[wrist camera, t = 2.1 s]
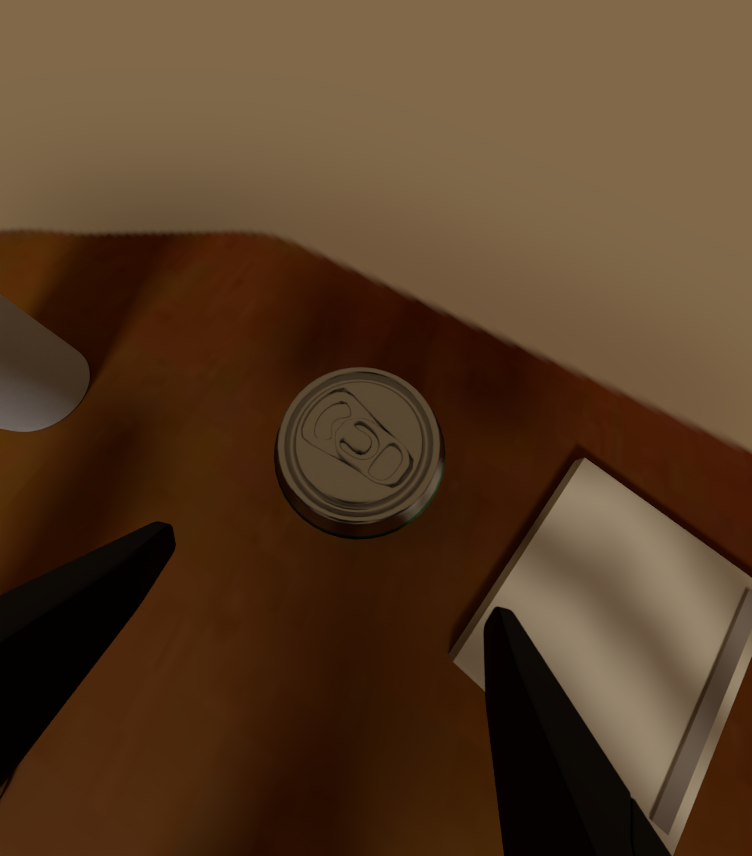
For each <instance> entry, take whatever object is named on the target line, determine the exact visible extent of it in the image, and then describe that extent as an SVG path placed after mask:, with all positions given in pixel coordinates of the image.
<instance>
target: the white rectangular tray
mask: <svg viewBox="0 0 752 856" xmlns="http://www.w3.org/2000/svg"><path fill="white" fill-rule="evenodd" d="M496 606H499V607H503V608H507V609H510V610H511V611H513V613H514V614H515V615H516V617H517V618H518V620H519V622H520V623H521V625H522V626H523V628H524V629H525V631H526V632H527V634H528V635H529V637H530V638H531V640H532V642H533V643H534V645H535V646H536V648H537V649H538V651H539V652H540V654H541V655H542V657H543V659H544V660H545V662H546V663H547V665H548V666H549V668H550V669H551V671H552V672H553V674H554V676H555V677H556V679H557V680H558V682H559V683H560V685H561V686H562V688H563V689H564V691H565V693H566V694H567V696H568V697H569V699H570V700H571V702H572V703H573V705H574V706H575V708H576V710H577V711H578V713H579V714H580V716H581V717H582V719H583V720H584V722H585V723H586V725H587V727H588V728H589V730H590V731H591V733H592V734H593V736H594V737H595V739H596V740H597V742H598V744H599V745H600V747H601V748H602V750H603V751H604V753H605V754H606V756H607V757H608V759H609V761H610V762H611V764H612V765H613V767H614V768H615V770H616V771H617V773H618V774H619V776H620V777H621V779H622V781H623V782H624V784H625V785H626V787H627V788H628V790H629V791H630V794H631V797H632V798H634V799H635V800H636V802H637V803H638V805H639V807H640V808H641V810H642V811H643V813H644V814H645V816H646V817H647V819H648V820H649V822H650V824H651V825H652V827H653V828H654V830H655V831H656V833H657V834H658V836H659V837H660V839H661V840H662V842H663V843H664V845H665V846H666V848H667V849H668V851H669V852H670V854H671V855H672V856H673V854H674V852H675V849H676V847H677V844H678V841H679V839H680V836H681V834H682V831H683V829H684V826H685V824H686V821H687V819H688V816H689V814H690V811H691V809H692V806H693V803H694V801H695V798H696V796H697V793H698V791H699V788H700V786H701V783H702V781H703V778H704V776H705V773H706V771H707V768H708V765H709V763H710V760H711V758H712V755H713V753H714V750H715V748H716V745H717V743H718V740H719V738H720V735H721V732H722V730H723V727H724V725H725V722H726V720H727V717H728V715H729V712H730V710H731V707H732V705H733V702H734V700H735V697H736V694H737V692H738V689H739V687H740V684H741V682H742V679H743V677H744V674H745V672H746V669H747V667H748V664H749V662H750V659H751V656H752V578H751V577H750V576H749V575H747V574H746V573H744V572H743V571H742V570H740V569H739V568H738V567H736V566H735V565H733V564H732V563H731V562H729V561H728V560H726V559H725V558H724V557H722V556H721V555H719V554H718V553H717V552H715V551H714V550H713V549H711V548H710V547H708V546H707V545H706V544H704V543H703V542H701V541H700V540H699V539H697V538H696V537H694V536H693V535H692V534H690V533H689V532H688V531H686V530H685V529H683V528H682V527H681V526H679V525H678V524H676V523H675V522H674V521H672V520H671V519H669V518H668V517H667V516H665V515H664V514H663V513H661V512H660V511H658V510H657V509H656V508H654V507H653V506H651V505H650V504H649V503H647V502H646V501H644V500H643V499H642V498H640V497H639V496H637V495H636V494H635V493H633V492H632V491H631V490H629V489H628V488H626V487H625V486H624V485H622V484H621V483H619V482H618V481H617V480H615V479H614V478H612V477H611V476H610V475H608V474H607V473H606V472H604V471H603V470H601V469H600V468H599V467H597V466H596V465H594V464H593V463H592V462H590V461H589V460H587V459H586V458H582V459H579V460H575V461H574V463H573V464H572V466H571V467H570V469H569V470H568V472H567V473H566V475H565V476H564V478H563V479H562V481H561V483H560V484H559V486H558V487H557V489H556V490H555V492H554V493H553V495H552V496H551V498H550V499H549V501H548V502H547V504H546V506H545V507H544V509H543V510H542V512H541V513H540V515H539V516H538V518H537V519H536V521H535V522H534V524H533V525H532V527H531V528H530V530H529V532H528V533H527V535H526V536H525V538H524V539H523V541H522V542H521V544H520V545H519V547H518V548H517V550H516V551H515V553H514V555H513V556H512V558H511V559H510V561H509V562H508V564H507V565H506V567H505V568H504V570H503V571H502V573H501V574H500V576H499V578H498V579H497V581H496V582H495V584H494V585H493V587H492V588H491V590H490V591H489V593H488V594H487V596H486V597H485V599H484V601H483V602H482V604H481V605H480V607H479V608H478V610H477V611H476V613H475V614H474V616H473V617H472V619H471V620H470V622H469V624H468V625H467V627H466V628H465V630H464V631H463V633H462V634H461V636H460V637H459V639H458V640H457V642H456V643H455V645H454V646H453V648H452V650H451V651H450V653H449V654H448V655H449V656H450V658H451V659H452V661H453V662H454V663H455V664H456V665H457V666H458V667H459V668H460V669H461V670H462V671H463V672H465V673H466V674H467V675H468V676H469V677H470V678H471V679H472V680H473V681H474V682H475V683H476V684H478V685H479V686H480V687H481V688H482V689H483V690H484V691H485V675H484V637H483V630H484V625H485V622H486V620H487V619H488V617H489V615H490V614H491V612H492V610H493V609H494V607H496Z"/></svg>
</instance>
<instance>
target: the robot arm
mask: <svg viewBox="0 0 752 856" xmlns="http://www.w3.org/2000/svg"><path fill="white" fill-rule="evenodd" d="M175 546H176V543H175V537H174V532H173V527H172V526H171V525H170V524H167V523H163V522H158V521H157V522H153V523H151V524H148V525H146V526H144V527H142V528H140V529H138V530H136V531H134V532H132V533H130V534H127V535H125V536H123V537H121V538H119V539H117V540H115V541H113V542H111V543H108V544H106V545H104V546H102V547H100V548H98V549H96V550H94V551H92V552H90V553H87V554H85V555H83V556H81V557H79V558H77V559H75V560H73V561H71V562H69V563H66V564H64V565H62V566H60V567H58V568H56V569H54V570H52V571H50V572H47V573H45V574H43V575H41V576H39V577H37V578H35V579H33V580H31V581H29V582H26V583H24V584H22V585H20V586H18V587H16V588H14V589H12V590H10V591H8V592H5V593H3V594H1V595H0V788H1V787H2V785H3V784H4V783H5V781H6V780H7V779H8V777H9V776H10V775H11V773H12V772H13V771H14V770H15V768H16V767H17V766H18V764H19V763H20V762H21V760H22V759H23V758H24V756H25V755H26V754H27V753H28V751H29V750H30V749H31V747H32V746H33V745H34V743H35V742H36V741H37V740H38V738H39V737H40V736H41V734H42V733H43V732H44V730H45V729H46V728H47V726H48V725H49V724H50V723H51V721H52V720H53V719H54V717H55V716H56V715H57V713H58V712H59V711H60V709H61V708H62V707H63V706H64V704H65V703H66V702H67V700H68V699H69V698H70V696H71V695H72V694H73V693H74V691H75V690H76V689H77V687H78V686H79V685H80V683H81V682H82V681H83V679H84V678H85V677H86V676H87V674H88V673H89V672H90V670H91V669H92V668H93V666H94V665H95V664H96V663H97V661H98V660H99V659H100V657H101V656H102V655H103V653H104V652H105V651H106V649H107V648H108V647H109V646H110V644H111V643H112V642H113V640H114V639H115V638H116V636H117V635H118V634H119V632H120V631H121V630H122V629H123V627H124V626H125V625H126V623H127V622H128V621H129V619H130V618H131V617H132V615H133V614H134V613H135V611H136V610H137V609H138V607H139V606H140V604H141V603H142V601H143V600H144V598H145V597H146V595H147V594H148V592H149V590H150V589H151V587H152V586H153V584H154V583H155V581H156V579H157V578H158V576H159V575H160V573H161V572H162V570H163V568H164V567H165V565H166V564H167V562H168V560H169V559H170V557H171V556H172V554H173V552H174V550H175ZM483 637H484V675H485V700H486V711H487V719H488V727H489V735H490V744H491V752H492V760H493V768H494V777H495V785H496V793H497V801H498V810H499V818H500V826H501V834H502V842H503V851H504V856H672V855H671V854H670V852H669V851H668V849H667V848H666V846H665V845H664V843H663V842H662V840H661V839H660V837H659V836H658V834H657V833H656V831H655V830H654V828H653V827H652V825H651V824H650V822H649V820H648V819H647V817H646V816H645V814H644V813H643V811H642V810H641V808H640V807H639V805H638V803H637V802H636V800H635V799H634V798H632V797H631V794H630V791H629V790H628V788H627V787H626V785H625V784H624V782H623V781H622V779H621V777H620V776H619V774H618V773H617V771H616V770H615V768H614V767H613V765H612V764H611V762H610V761H609V759H608V757H607V756H606V754H605V753H604V751H603V750H602V748H601V747H600V745H599V744H598V742H597V740H596V739H595V737H594V736H593V734H592V733H591V731H590V730H589V728H588V727H587V725H586V723H585V722H584V720H583V719H582V717H581V716H580V714H579V713H578V711H577V710H576V708H575V706H574V705H573V703H572V702H571V700H570V699H569V697H568V696H567V694H566V693H565V691H564V689H563V688H562V686H561V685H560V683H559V682H558V680H557V679H556V677H555V676H554V674H553V672H552V671H551V669H550V668H549V666H548V665H547V663H546V662H545V660H544V659H543V657H542V655H541V654H540V652H539V651H538V649H537V648H536V646H535V645H534V643H533V642H532V640H531V638H530V637H529V635H528V634H527V632H526V631H525V629H524V628H523V626H522V625H521V623H520V622H519V620H518V618H517V617H516V615H515V614H514V613H513V611H511V610H510V609H507V608H503V607H499V606H496V607H494V609H493V610H492V612H491V614H490V615H489V617H488V619H487V620H486V622H485V625H484V630H483Z"/></svg>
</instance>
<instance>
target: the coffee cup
mask: <svg viewBox="0 0 752 856" xmlns="http://www.w3.org/2000/svg"><path fill="white" fill-rule="evenodd" d="M89 380H90V371H89V366H88V363H87V361H86V359H85V358H84V357H83V355H82V354H81V353H80V352H78V351H77V350H76V349H74V348H73V347H72V346H70V345H69V344H68V343H66V342H65V341H63V340H62V339H61V338H59V337H58V336H57V335H55V334H54V333H53V332H51V331H50V330H48V329H47V328H46V327H44V326H43V325H42V324H40V323H39V322H37V321H36V320H35V319H33V318H32V317H31V316H29V315H28V314H26V313H25V312H24V311H22V310H21V309H20V308H18V307H17V306H15V305H14V304H13V303H11V302H10V301H9V300H7V299H6V298H4V297H3V296H2V295H0V428H1V429H6V430H11V431H18V432H30V431H36V430H40V429H43V428H46V427H49V426H51V425H53V424H55V423H57V422H59V421H60V420H62V419H63V418H65V417H66V416H67V415H69V414H70V413H71V412H72V411H73V410H74V409H75V408H76V407H77V406H78V404H79V403H80V402H81V400H82V399H83V397H84V395H85V393H86V391H87V388H88V385H89Z"/></svg>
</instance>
